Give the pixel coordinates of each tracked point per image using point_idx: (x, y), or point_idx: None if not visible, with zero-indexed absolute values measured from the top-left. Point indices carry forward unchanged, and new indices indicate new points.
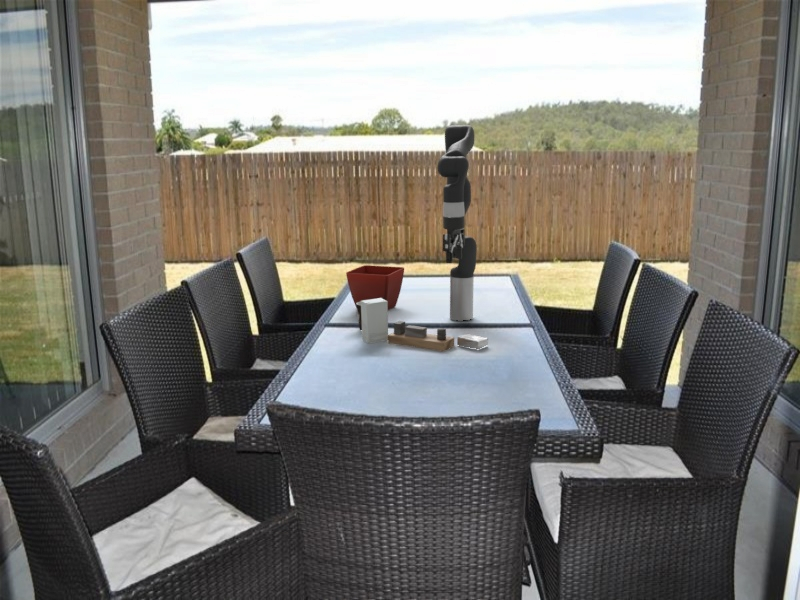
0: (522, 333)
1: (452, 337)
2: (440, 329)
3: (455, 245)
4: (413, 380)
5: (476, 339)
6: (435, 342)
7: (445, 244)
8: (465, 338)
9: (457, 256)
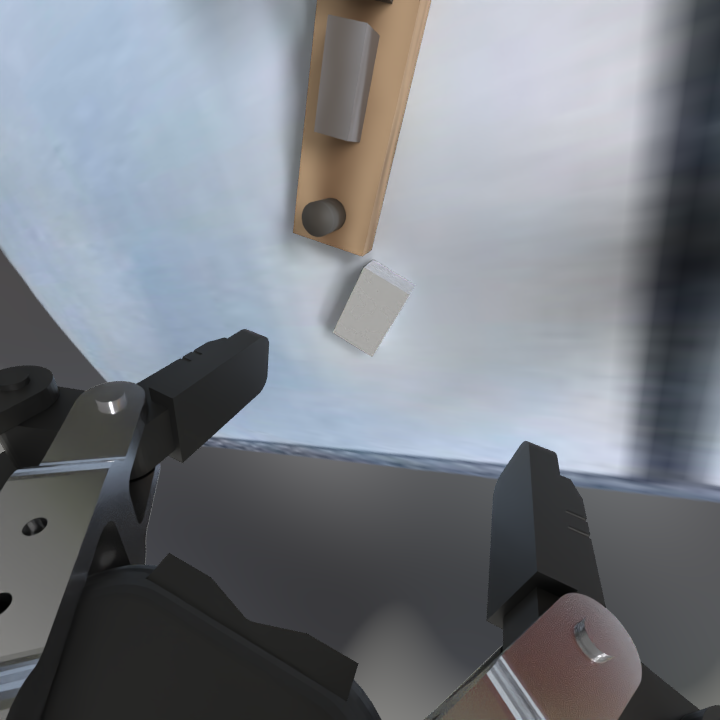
0: (546, 441)
1: (361, 250)
2: (313, 215)
3: (524, 634)
4: (94, 194)
5: (352, 326)
6: (297, 198)
7: (23, 475)
8: (354, 294)
9: (514, 472)
